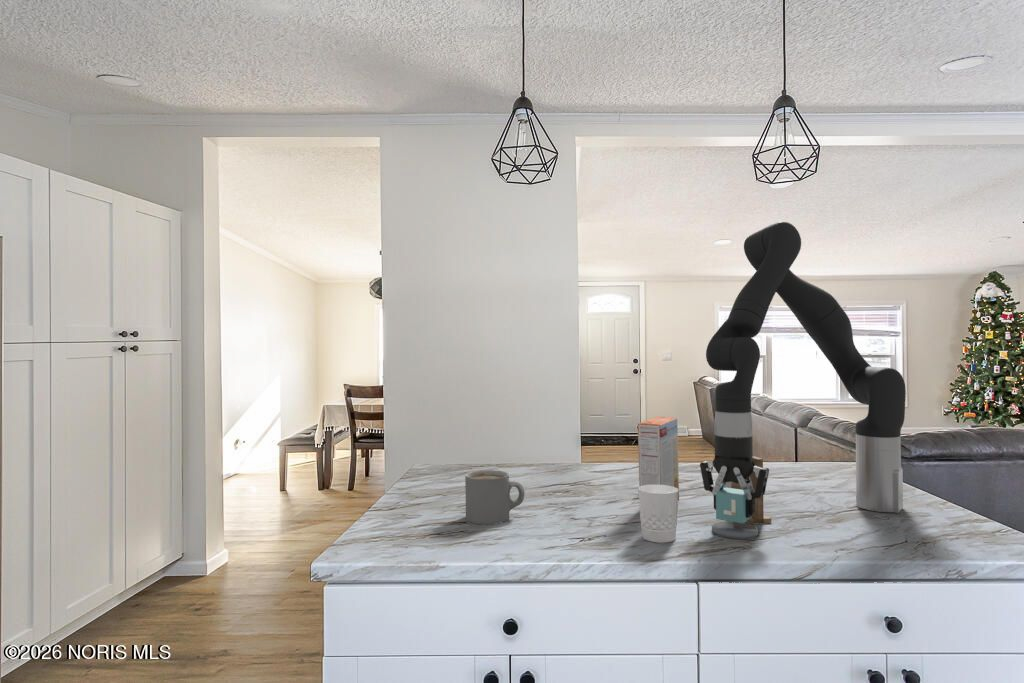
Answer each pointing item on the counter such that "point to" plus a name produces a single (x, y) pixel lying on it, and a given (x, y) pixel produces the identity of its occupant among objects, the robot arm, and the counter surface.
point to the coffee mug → (490, 496)
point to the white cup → (658, 512)
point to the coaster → (734, 530)
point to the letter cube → (731, 505)
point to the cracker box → (658, 452)
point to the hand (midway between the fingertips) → (733, 514)
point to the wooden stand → (758, 514)
